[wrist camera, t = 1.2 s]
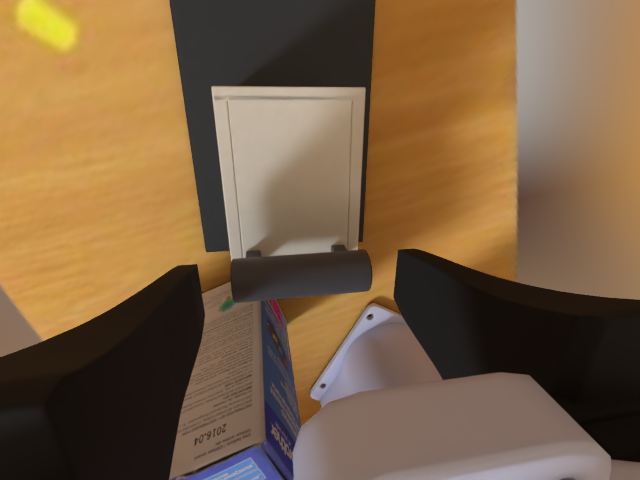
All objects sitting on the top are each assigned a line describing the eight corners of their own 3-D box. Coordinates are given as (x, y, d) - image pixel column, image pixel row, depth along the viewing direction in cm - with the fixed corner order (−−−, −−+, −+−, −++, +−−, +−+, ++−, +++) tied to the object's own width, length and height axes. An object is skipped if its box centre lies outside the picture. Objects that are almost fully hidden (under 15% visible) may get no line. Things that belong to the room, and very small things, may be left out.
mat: (361, 239, 22) (362, 242, 22) (206, 250, 21) (206, 252, 20) (377, -90, 16) (380, -95, 15) (155, -111, 14) (152, -117, 14)
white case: (329, 230, 21) (376, 314, 12) (241, 235, 20) (228, 329, 12) (331, 93, 18) (394, 82, 9) (227, 92, 17) (196, 79, 9)
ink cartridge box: (167, 380, 24) (51, 726, 11) (121, 325, 21) (-99, 676, 8) (292, 327, 24) (333, 604, 11) (260, 266, 22) (260, 520, 8)
